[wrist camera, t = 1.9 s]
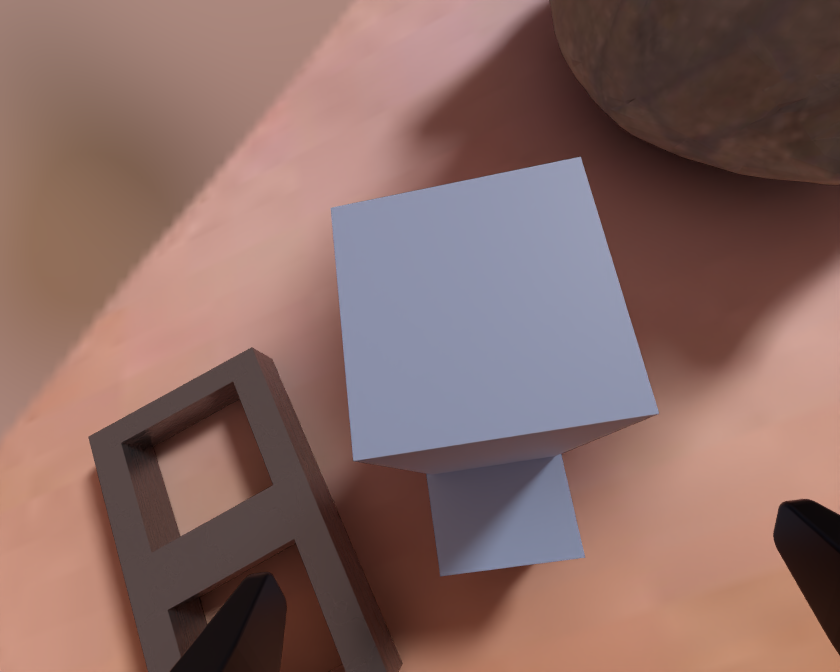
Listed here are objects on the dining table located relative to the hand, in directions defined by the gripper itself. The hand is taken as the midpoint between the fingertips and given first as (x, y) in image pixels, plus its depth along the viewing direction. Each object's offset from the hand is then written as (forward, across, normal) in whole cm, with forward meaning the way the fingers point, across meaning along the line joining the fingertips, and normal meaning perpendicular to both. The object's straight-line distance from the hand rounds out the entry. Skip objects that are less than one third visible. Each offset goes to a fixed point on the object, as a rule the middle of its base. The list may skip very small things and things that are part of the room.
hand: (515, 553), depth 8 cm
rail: (+8, +11, +8) cm, 15 cm away
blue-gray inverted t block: (+10, 0, +5) cm, 12 cm away
